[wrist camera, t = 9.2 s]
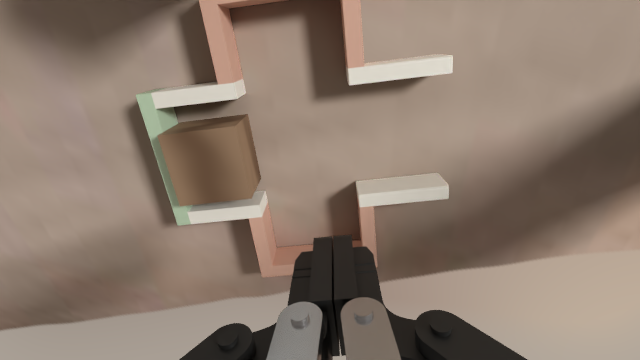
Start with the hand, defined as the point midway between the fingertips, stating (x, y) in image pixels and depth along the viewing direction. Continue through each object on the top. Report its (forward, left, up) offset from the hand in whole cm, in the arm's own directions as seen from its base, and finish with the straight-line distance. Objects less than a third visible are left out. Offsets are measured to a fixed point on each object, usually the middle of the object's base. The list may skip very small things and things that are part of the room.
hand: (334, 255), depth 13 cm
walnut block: (+10, 0, -18) cm, 20 cm away
